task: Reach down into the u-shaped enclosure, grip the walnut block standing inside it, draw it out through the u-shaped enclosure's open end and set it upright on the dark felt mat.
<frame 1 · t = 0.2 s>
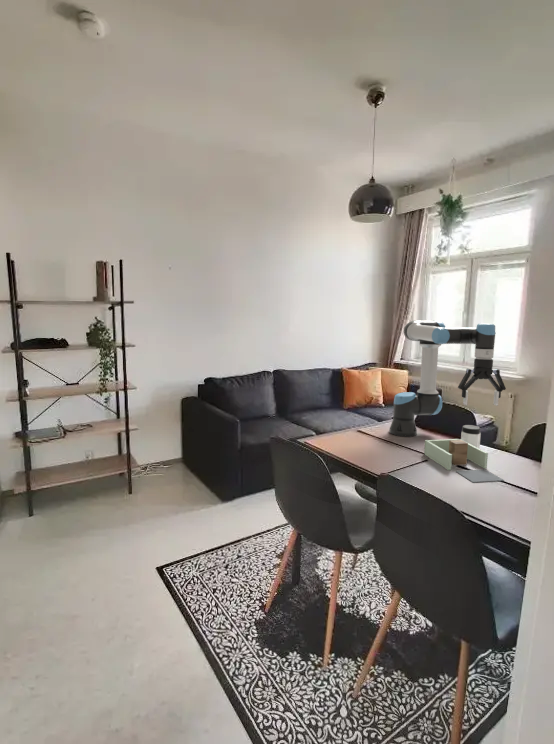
hand: (480, 405, 184), 27 cm above the table, fingers open, 13 cm apart
jar: (469, 450, 205), on the table
u-shaped enclosure: (453, 460, 190), on the table
mat: (479, 476, 171), on the table
block: (457, 462, 187), on the table
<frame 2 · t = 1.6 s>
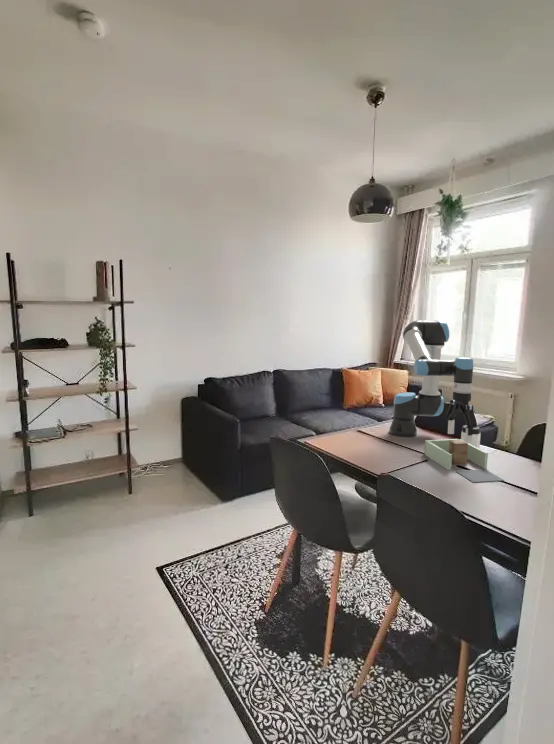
hand: (459, 437, 185), 12 cm above the table, fingers open, 13 cm apart
nothing on the table moved.
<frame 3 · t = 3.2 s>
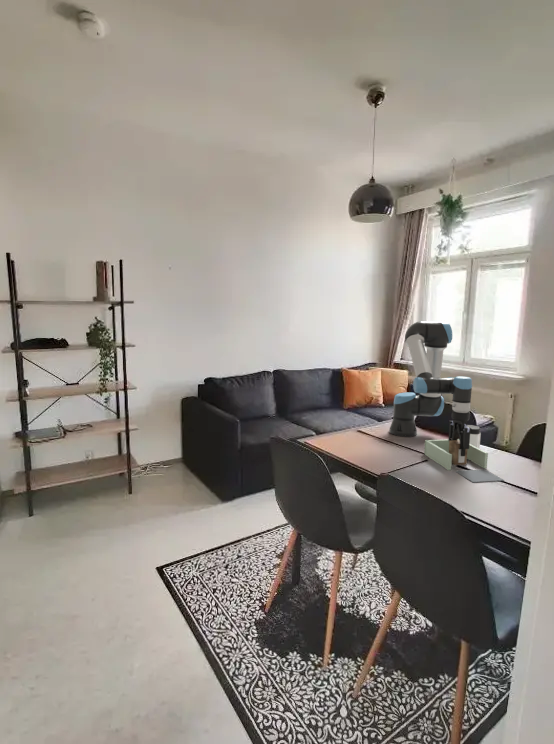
hand: (457, 460, 187), 1 cm above the table, fingers closed on block, 5 cm apart
block: (457, 462, 187), on the table, touching gripper
everything else where it was.
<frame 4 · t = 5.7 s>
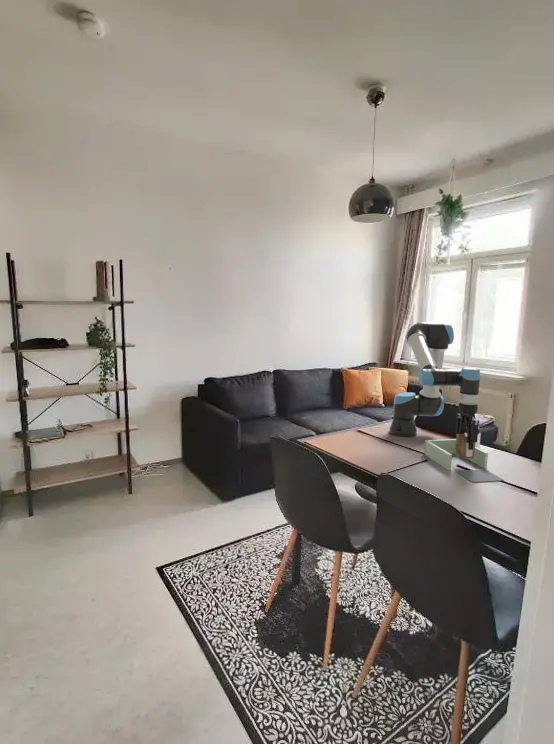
hand: (464, 454, 181), 6 cm above the table, fingers closed on block, 5 cm apart
block: (464, 456, 181), point 5 cm above the table, touching gripper
everything else where it was.
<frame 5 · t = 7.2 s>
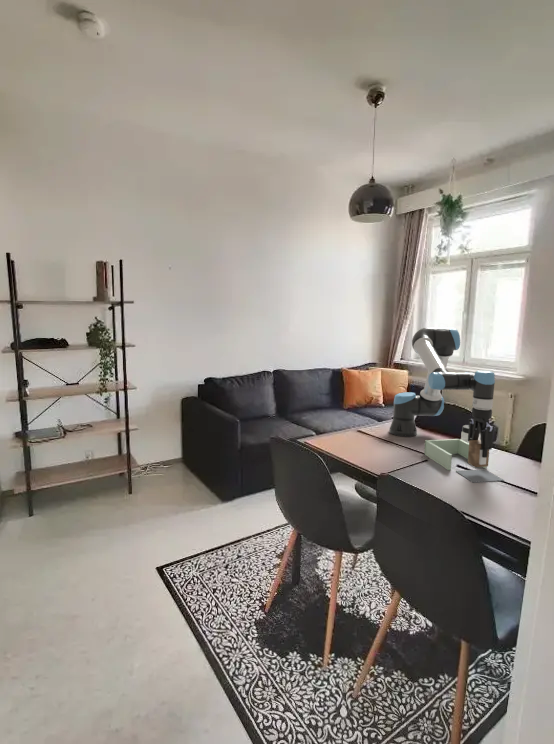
hand: (478, 461, 172), 6 cm above the table, fingers closed on block, 5 cm apart
block: (477, 464, 172), point 5 cm above the table, touching gripper
everything else where it was.
when the fingers open (3 cm above the table, at t = 8.4 s): block stays where it is, resting on mat.
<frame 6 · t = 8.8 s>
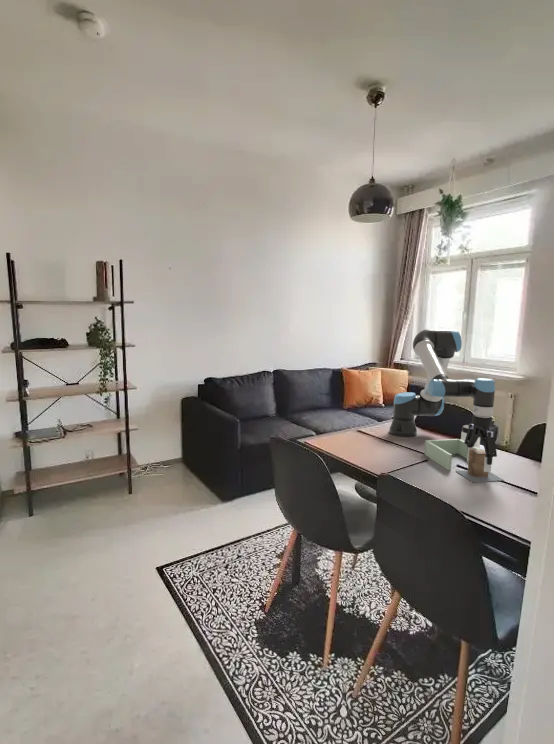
hand: (478, 466, 172), 4 cm above the table, fingers open, 10 cm apart
block: (477, 474, 172), resting on mat
everything else where it was.
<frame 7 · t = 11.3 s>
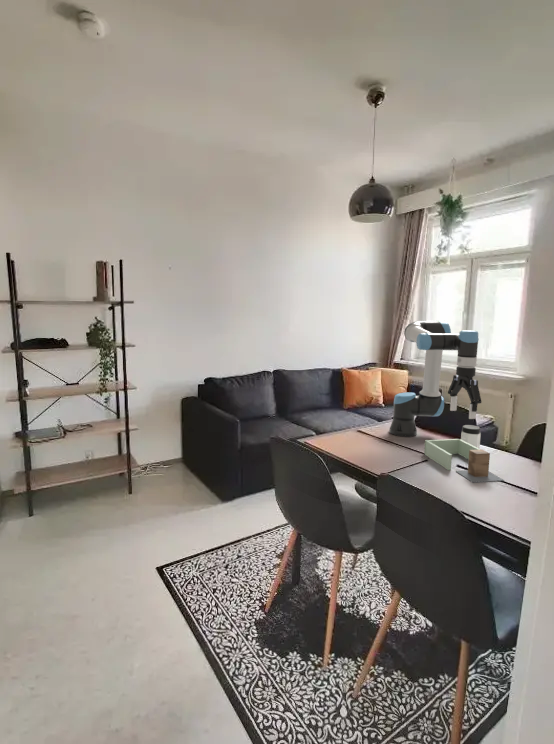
hand: (462, 414, 178), 24 cm above the table, fingers open, 13 cm apart
nothing on the table moved.
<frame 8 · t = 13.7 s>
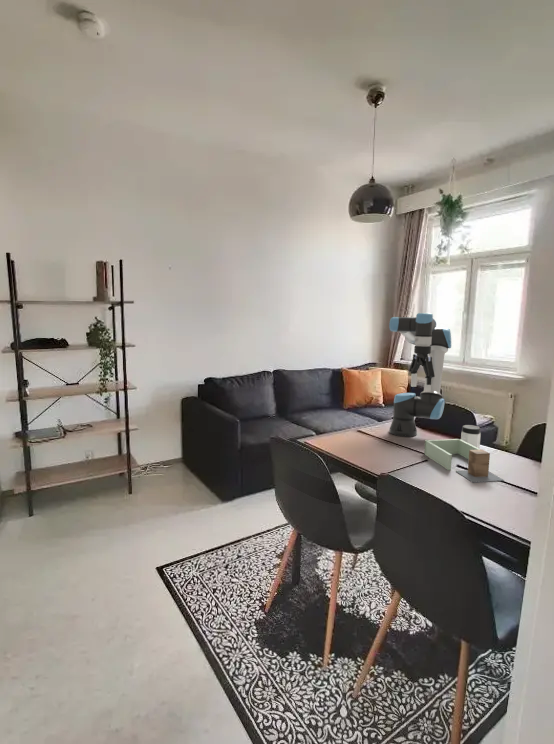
hand: (420, 389, 198), 32 cm above the table, fingers open, 13 cm apart
nothing on the table moved.
at the end: block inside the target area (1.1 cm from its centre), resting on mat; block tilted 0°; the gripper is holding nothing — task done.
